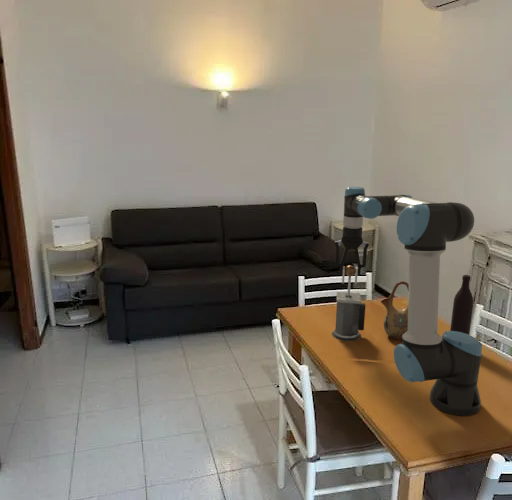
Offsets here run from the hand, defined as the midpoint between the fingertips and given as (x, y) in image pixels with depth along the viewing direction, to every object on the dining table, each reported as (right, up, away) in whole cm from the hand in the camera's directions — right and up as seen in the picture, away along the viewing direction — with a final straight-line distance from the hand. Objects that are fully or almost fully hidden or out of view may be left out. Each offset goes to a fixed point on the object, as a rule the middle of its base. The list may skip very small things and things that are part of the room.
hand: (349, 282), depth 200 cm
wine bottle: (+43, -26, -3) cm, 50 cm away
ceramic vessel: (+21, -24, +5) cm, 32 cm away
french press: (0, -22, +6) cm, 23 cm away
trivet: (0, -23, +6) cm, 24 cm away
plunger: (0, -16, +4) cm, 17 cm away
